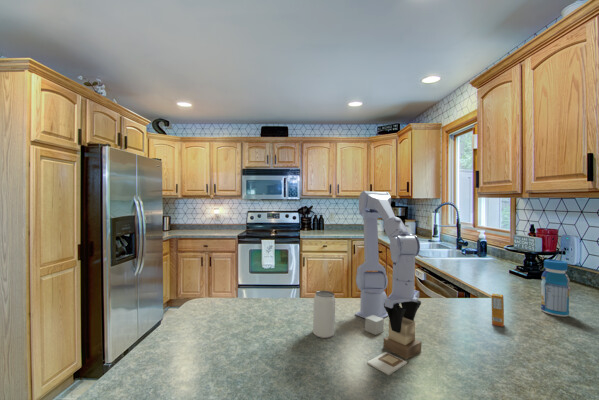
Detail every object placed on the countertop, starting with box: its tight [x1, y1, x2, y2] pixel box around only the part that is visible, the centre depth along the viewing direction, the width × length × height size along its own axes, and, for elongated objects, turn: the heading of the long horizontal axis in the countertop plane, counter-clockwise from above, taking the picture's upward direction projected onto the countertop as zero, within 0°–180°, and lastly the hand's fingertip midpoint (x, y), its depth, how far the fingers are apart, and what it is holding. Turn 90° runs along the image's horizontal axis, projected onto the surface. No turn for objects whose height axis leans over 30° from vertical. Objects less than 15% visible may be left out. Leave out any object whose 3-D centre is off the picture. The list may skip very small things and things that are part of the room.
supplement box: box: [490, 293, 505, 328], centre depth 97 cm, size 3×3×10 cm
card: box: [366, 351, 407, 376], centre depth 70 cm, size 8×6×1 cm
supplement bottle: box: [540, 259, 571, 317], centre depth 110 cm, size 8×8×20 cm
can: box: [312, 290, 336, 339], centre depth 86 cm, size 6×6×12 cm
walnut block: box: [383, 335, 422, 360], centre depth 78 cm, size 7×7×3 cm
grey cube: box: [364, 315, 385, 336], centre depth 89 cm, size 4×4×4 cm
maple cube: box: [388, 317, 416, 345], centre depth 78 cm, size 5×5×5 cm
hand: (402, 328), depth 78 cm, fingers open, 6 cm apart
